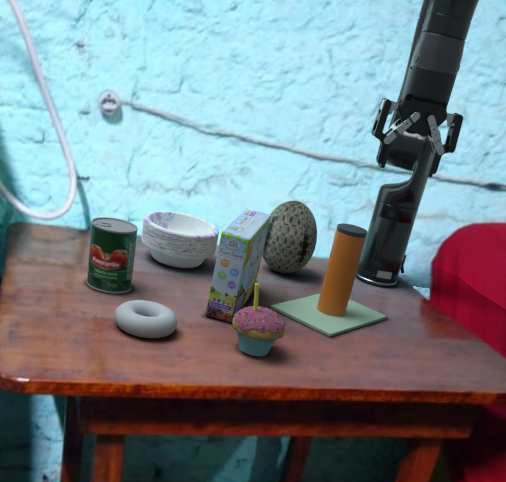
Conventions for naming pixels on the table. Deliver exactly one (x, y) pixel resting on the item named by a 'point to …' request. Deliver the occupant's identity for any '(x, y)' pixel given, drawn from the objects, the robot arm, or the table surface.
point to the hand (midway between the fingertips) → (404, 171)
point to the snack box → (237, 264)
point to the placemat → (326, 324)
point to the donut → (145, 319)
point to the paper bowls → (179, 238)
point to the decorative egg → (290, 237)
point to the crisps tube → (341, 269)
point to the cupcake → (257, 327)
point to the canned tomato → (111, 255)
